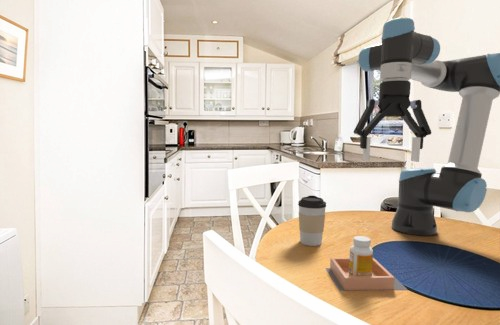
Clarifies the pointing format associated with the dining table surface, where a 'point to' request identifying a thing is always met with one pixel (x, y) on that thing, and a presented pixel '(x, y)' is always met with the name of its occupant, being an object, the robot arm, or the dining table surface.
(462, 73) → the robot arm
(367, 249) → the supplement bottle
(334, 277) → the mat
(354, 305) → the dining table surface
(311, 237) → the coffee cup
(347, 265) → the dish
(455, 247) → the dining table surface
